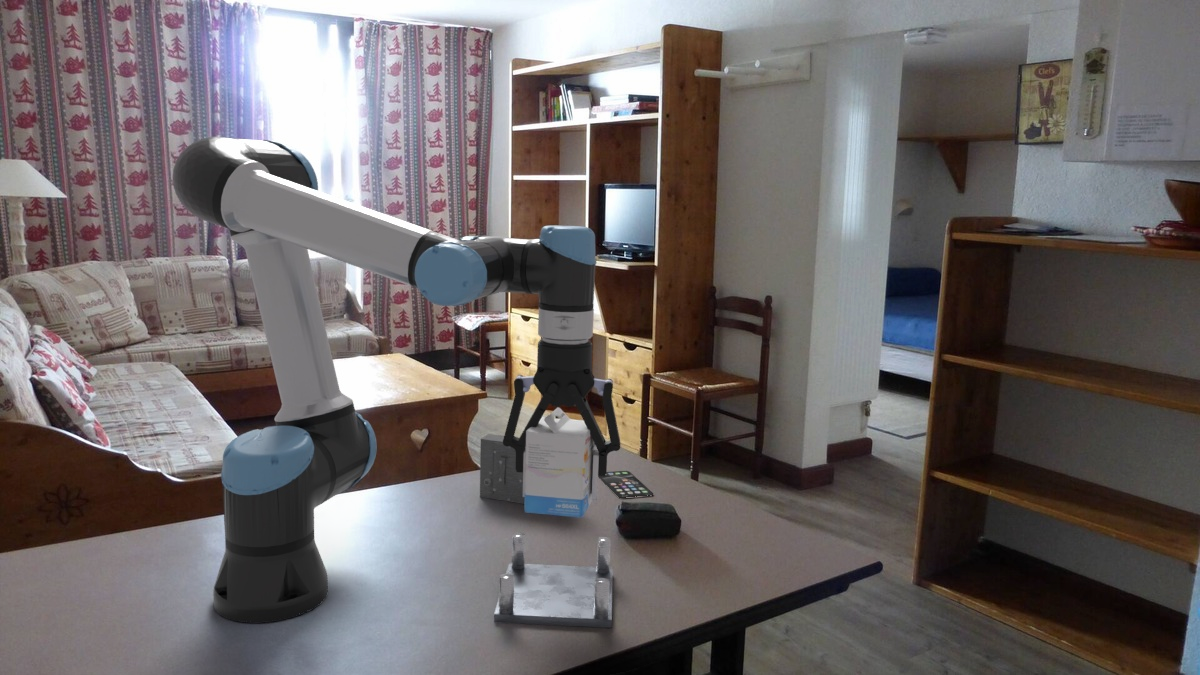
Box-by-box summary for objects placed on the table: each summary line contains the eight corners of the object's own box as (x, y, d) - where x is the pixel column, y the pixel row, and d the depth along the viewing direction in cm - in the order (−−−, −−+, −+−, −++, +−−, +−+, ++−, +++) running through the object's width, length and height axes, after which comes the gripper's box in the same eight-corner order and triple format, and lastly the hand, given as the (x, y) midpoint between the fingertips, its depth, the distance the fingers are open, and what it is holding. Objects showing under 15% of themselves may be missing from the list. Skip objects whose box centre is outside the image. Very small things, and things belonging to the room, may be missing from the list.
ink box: (582, 519, 118) (585, 424, 115) (522, 512, 119) (525, 419, 117) (595, 497, 126) (598, 408, 124) (539, 491, 127) (541, 403, 125)
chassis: (493, 622, 117) (494, 579, 116) (508, 570, 133) (509, 532, 132) (611, 627, 117) (613, 585, 116) (612, 575, 133) (614, 537, 132)
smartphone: (628, 470, 181) (655, 494, 167) (628, 473, 181) (655, 498, 167) (595, 472, 179) (619, 497, 165) (595, 475, 179) (619, 500, 165)
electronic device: (571, 503, 162) (574, 400, 159) (558, 516, 156) (561, 409, 152) (486, 490, 167) (488, 390, 164) (471, 501, 161) (472, 398, 157)
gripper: (482, 340, 115) (479, 501, 119) (645, 347, 114) (637, 508, 118) (490, 331, 122) (488, 482, 126) (643, 337, 122) (636, 489, 126)
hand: (560, 495), depth 122 cm, fingers closed on ink box, 9 cm apart
